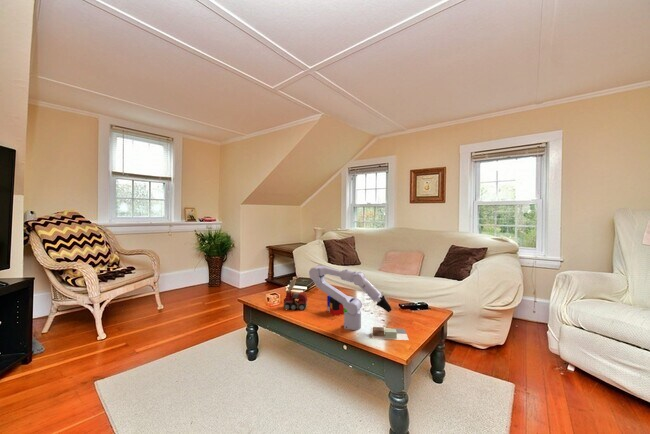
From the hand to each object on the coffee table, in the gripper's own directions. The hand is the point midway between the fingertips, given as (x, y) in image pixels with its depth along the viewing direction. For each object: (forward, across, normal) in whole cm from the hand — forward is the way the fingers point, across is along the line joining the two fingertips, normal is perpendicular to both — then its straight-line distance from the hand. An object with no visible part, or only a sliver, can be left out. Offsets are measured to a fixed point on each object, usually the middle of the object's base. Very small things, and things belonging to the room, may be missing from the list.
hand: (390, 309), depth 144 cm
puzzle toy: (-19, +30, +27) cm, 45 cm away
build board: (+8, +2, +10) cm, 13 cm away
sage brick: (+9, -2, +9) cm, 13 cm away
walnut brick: (+4, 0, +13) cm, 14 cm away
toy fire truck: (-40, +34, +47) cm, 71 cm away
